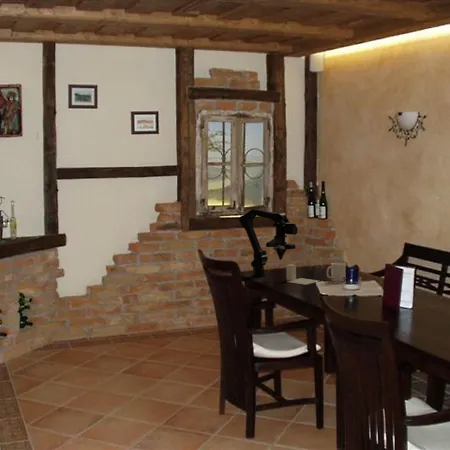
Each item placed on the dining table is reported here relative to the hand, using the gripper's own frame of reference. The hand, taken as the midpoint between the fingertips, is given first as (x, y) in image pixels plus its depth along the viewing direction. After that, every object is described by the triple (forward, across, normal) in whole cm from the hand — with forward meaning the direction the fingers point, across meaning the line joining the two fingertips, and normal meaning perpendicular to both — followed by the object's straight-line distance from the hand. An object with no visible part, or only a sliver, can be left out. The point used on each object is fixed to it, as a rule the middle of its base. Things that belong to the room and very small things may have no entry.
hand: (280, 259), depth 426 cm
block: (+11, +8, 0) cm, 14 cm away
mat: (+11, +17, 0) cm, 21 cm away
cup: (+12, +30, +14) cm, 35 cm away
